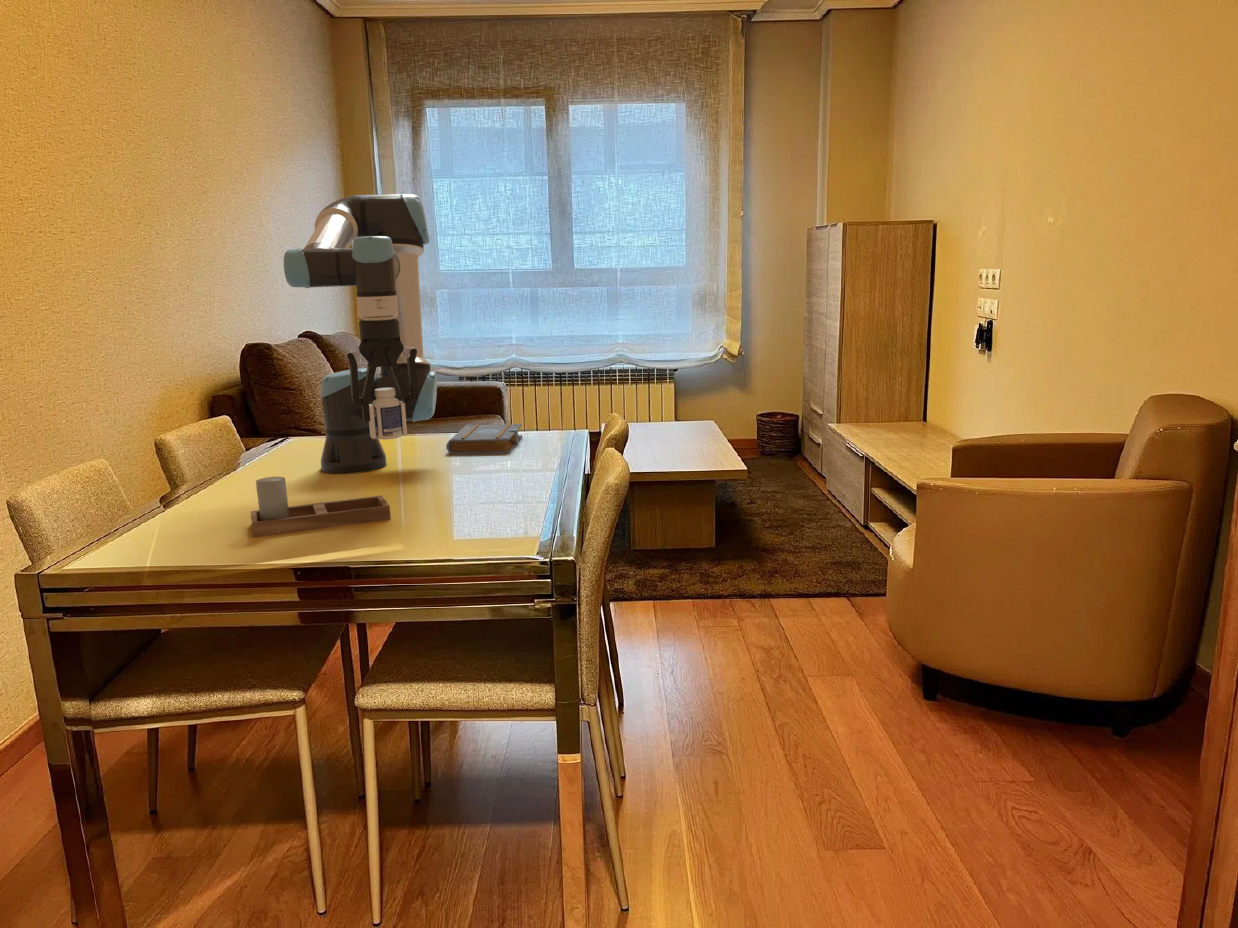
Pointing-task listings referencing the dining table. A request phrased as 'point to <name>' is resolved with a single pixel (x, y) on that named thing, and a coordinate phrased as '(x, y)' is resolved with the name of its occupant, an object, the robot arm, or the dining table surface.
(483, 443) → the book
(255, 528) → the rack
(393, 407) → the pill bottle
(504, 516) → the dining table surface
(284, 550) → the dining table surface
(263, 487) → the grey rounded cylinder
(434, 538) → the dining table surface
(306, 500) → the dining table surface
